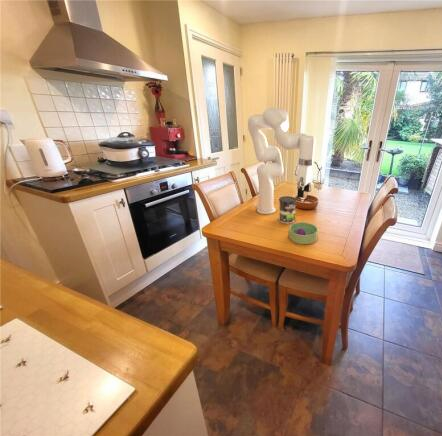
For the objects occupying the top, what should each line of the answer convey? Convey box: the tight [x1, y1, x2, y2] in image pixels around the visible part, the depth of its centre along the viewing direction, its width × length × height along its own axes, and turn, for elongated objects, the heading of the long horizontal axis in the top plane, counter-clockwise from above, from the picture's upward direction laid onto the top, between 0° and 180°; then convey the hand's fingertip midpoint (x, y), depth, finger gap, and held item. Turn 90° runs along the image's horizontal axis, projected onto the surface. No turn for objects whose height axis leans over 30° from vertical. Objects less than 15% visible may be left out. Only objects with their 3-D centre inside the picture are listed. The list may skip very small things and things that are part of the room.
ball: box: [296, 229, 306, 235], centre depth 125 cm, size 5×5×5 cm
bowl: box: [288, 221, 319, 245], centre depth 126 cm, size 15×15×6 cm
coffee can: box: [278, 195, 297, 225], centre depth 144 cm, size 10×10×14 cm
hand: (303, 194), depth 124 cm, fingers open, 9 cm apart
